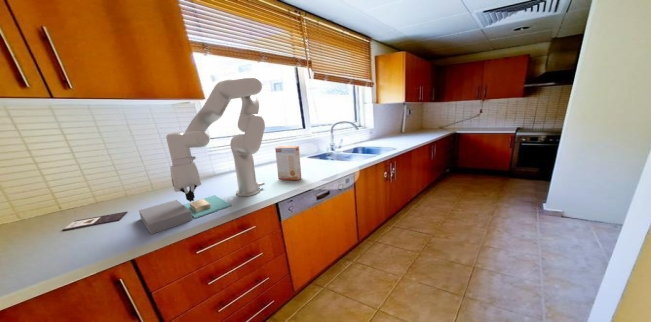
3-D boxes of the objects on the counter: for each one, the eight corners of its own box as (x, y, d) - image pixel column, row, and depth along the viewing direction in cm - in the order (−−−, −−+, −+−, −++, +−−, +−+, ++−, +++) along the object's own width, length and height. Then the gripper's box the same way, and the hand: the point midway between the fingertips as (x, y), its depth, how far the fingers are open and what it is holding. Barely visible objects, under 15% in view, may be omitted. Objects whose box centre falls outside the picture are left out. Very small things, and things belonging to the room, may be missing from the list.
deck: (178, 207, 106) (176, 199, 105) (192, 219, 92) (190, 210, 92) (141, 218, 96) (138, 210, 95) (151, 234, 82) (148, 224, 82)
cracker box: (301, 178, 142) (299, 145, 137) (297, 180, 137) (294, 147, 132) (283, 176, 147) (280, 145, 142) (278, 179, 142) (274, 147, 137)
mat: (214, 196, 118) (214, 195, 118) (232, 205, 105) (231, 204, 104) (180, 206, 106) (180, 205, 106) (195, 218, 93) (194, 217, 93)
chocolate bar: (119, 219, 95) (61, 230, 88) (119, 221, 95) (62, 232, 88) (127, 211, 103) (75, 220, 96) (127, 213, 103) (75, 222, 96)
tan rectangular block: (189, 203, 103) (190, 207, 104) (195, 208, 97) (196, 212, 98) (203, 199, 108) (204, 202, 108) (210, 203, 102) (210, 207, 102)
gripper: (197, 156, 104) (205, 193, 108) (159, 164, 93) (169, 204, 98) (203, 158, 99) (211, 196, 103) (164, 166, 88) (174, 208, 93)
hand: (191, 200), depth 100 cm, fingers closed
